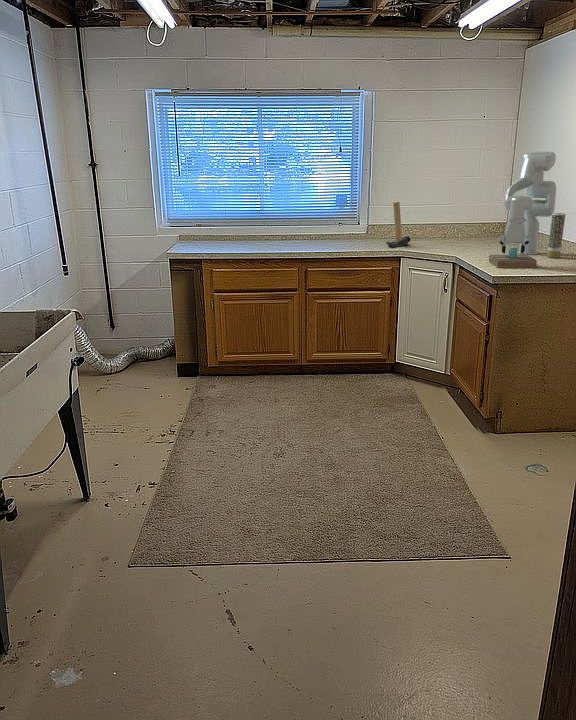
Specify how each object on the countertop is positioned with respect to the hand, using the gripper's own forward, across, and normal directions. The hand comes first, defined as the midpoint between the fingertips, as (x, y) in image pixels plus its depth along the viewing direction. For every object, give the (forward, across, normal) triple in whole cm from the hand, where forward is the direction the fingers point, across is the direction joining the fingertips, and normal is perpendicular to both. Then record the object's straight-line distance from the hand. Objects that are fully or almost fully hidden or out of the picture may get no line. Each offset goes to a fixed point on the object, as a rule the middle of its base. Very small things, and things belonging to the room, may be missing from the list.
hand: (512, 253), depth 325 cm
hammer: (+7, +55, -73) cm, 92 cm away
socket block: (+6, 0, 0) cm, 6 cm away
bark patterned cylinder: (+6, -30, -24) cm, 39 cm away
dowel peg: (+6, 0, 0) cm, 6 cm away
